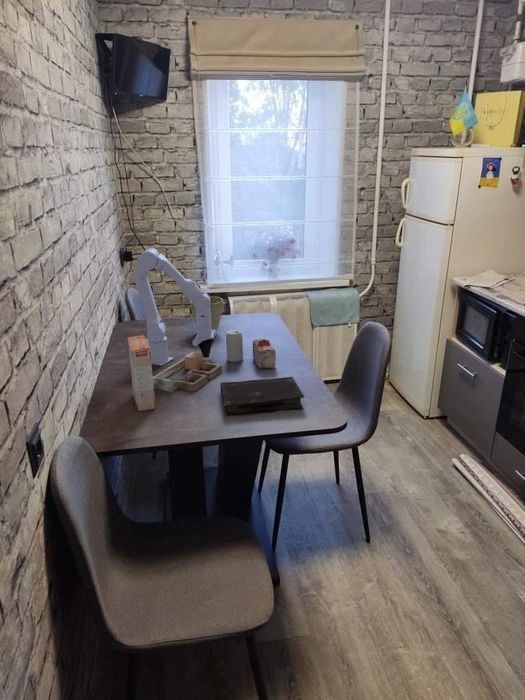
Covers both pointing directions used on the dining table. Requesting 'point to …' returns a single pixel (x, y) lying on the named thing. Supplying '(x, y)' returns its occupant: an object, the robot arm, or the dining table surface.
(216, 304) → the plant pot
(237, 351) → the beverage can
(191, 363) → the block
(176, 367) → the trap lane
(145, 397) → the cracker box
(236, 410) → the diary
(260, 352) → the food item
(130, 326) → the dining table surface
